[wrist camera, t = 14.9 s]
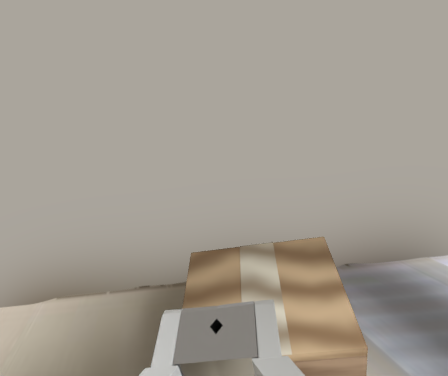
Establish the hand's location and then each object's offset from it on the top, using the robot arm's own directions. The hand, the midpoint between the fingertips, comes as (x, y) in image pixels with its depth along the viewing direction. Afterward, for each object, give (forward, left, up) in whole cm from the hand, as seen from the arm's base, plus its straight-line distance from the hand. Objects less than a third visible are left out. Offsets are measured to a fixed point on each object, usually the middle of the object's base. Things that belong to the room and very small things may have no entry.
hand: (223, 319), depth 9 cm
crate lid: (+18, -16, -26) cm, 35 cm away
